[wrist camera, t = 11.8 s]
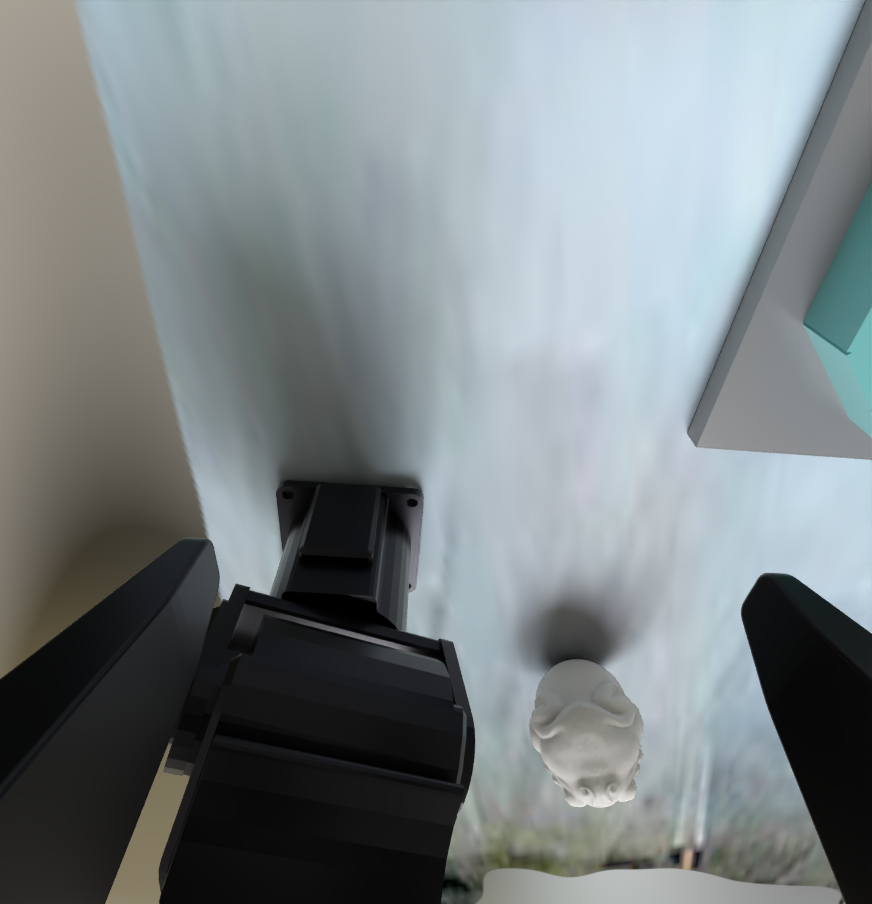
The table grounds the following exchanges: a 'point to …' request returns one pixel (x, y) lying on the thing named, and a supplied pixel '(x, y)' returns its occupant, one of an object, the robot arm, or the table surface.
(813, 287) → the teal ring holder base
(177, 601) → the robot arm
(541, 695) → the frog figurine
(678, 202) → the table surface
